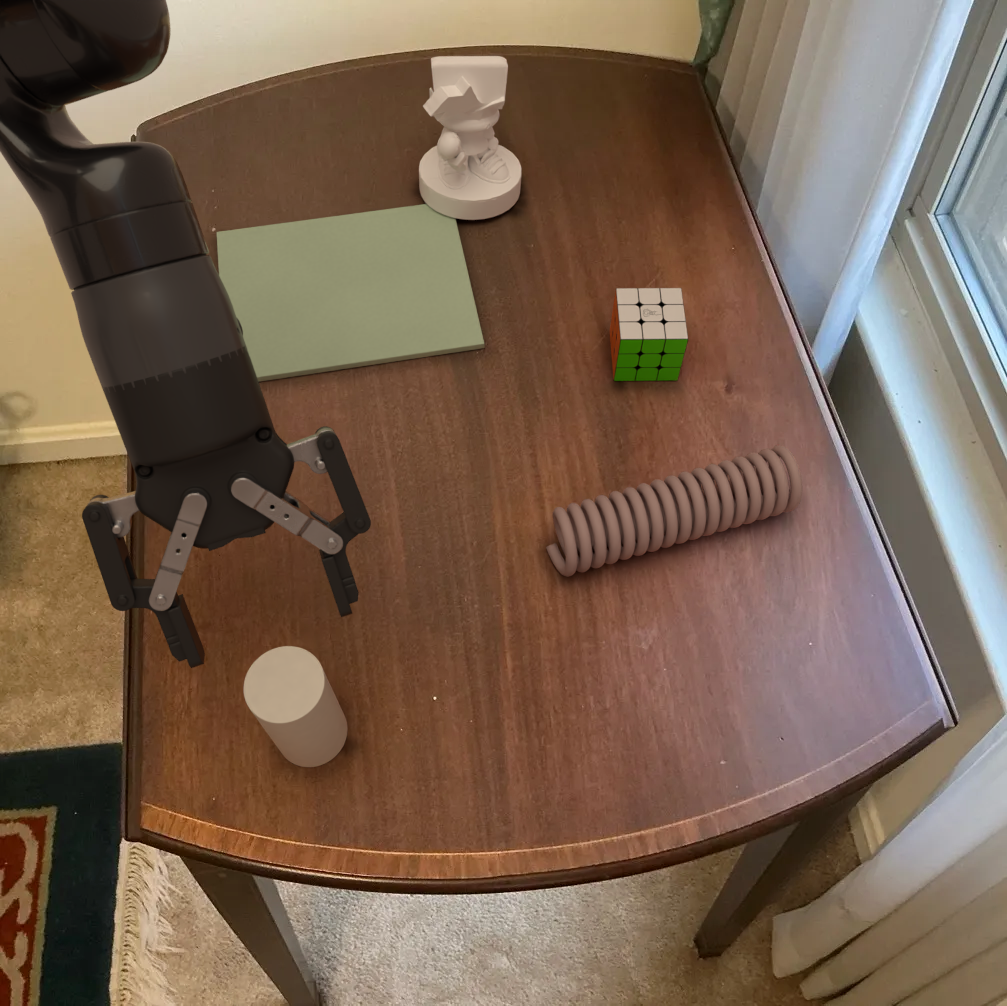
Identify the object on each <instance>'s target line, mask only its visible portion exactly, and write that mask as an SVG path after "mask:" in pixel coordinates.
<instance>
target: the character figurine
mask: <svg viewBox="0 0 1007 1006" xmlns="http://www.w3.org/2000/svg"><path fill="white" fill-rule="evenodd" d="M430 65H431V75H432V87H433V88H432V87H430V88H429V98H428V99H427V100H426V102H425V103H423V105H422V107H423V109H424V110H425V111H426V113H427V114H428V115H429V116H430V117H433V118H434V119H435V120H436V121H437V122H439V123H440V124H441V125H442V126H443V128H442V130H441V133H440V136H439V138H438V140H437V144H436V145H435V146H433V147H431V148H430V149H429V150H428V151H427V152H425V153H424V155H423V156H422V158H421V159H420V161H419V166H418V179H419V180H418V185H419V186H418V187H419V188H418V189H419V193H420V194H419V195H420V197H421V198H422V200H423V201H424V203H425V204H428V205H429V206H430V207H431V208H432V209H434V210H435V211H437V212H439V213H441V214H443V215H446V216H449V217H453V218H456V219H459V220H466V221H467V220H468V221H475V220H476V221H477V220H485V219H491V218H494V217H497V216H500V215H503V214H504V213H506V212H507V211H510V209H511V208H512V207H513V206H515V204H516V203H517V201H518V200H519V199H520V194H521V187H522V186H521V184H522V165H521V162H520V160H519V159H518V158H517V156H516V155H515V154H514V153H513V152H512V151H510V150H509V149H507V148H506V147H505V146H502V144H501V145H500V144H499V139H498V138H497V137H495V135H496V133H495V130H494V128H493V127H494V126H495V125H496V124H497V123H498V122H499V119H500V111H499V110H503V107H504V106H505V102H506V92H507V91H506V90H507V82H508V72H509V71H508V70H509V64H508V61H507V58H505V57H504V56H502V55H453V56H452V55H451V56H450V55H447V56H444V55H443V56H442V55H441V56H433V57H431V58H430Z"/></svg>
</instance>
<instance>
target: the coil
mask: <svg viewBox="0 0 1007 1006" xmlns="http://www.w3.org/2000/svg"><path fill="white" fill-rule="evenodd" d="M783 463H784V465H783ZM754 467H755V468H754ZM785 467H786V468H785ZM786 470H787V472H786ZM787 473H788V475H787ZM788 478H789V479H788ZM729 481H730V482H729ZM715 483H716V484H715ZM789 484H790V485H789ZM716 486H717V487H716ZM789 487H790V488H789ZM717 490H718V491H717ZM718 493H719V495H720V498H719V495H718ZM733 494H734V496H733ZM704 495H705V496H704ZM802 495H803V479H802V472H801V470H800V466H799V463H798V461H797V459H796V457H795V456H794V454H793V452H792V451H791V449H789V448H788V447H787V446H785V445H782V444H777V445H774V446H773V447H771V449H770V448H763V449H760V450H759V451H758V452H754V451H753V452H749V453H747V454H746V455H745V456H741V455H739V456H735V457H733V458H732V459H731V460H728V459H724V460H721V461H720V462H719V463H718V464H715V463H709V464H707V465H706V466H705V467H704V468H702V467H695V468H693V469H692V470H691V472H689V471H681V472H680V473H678V475H677V476H675V475H673V474H670V475H667V476H666V477H665V478H664V479H663V480H662V479H659V478H657V479H656V478H655V479H653V480H652V481H651V482H650V484H648V483H646V482H642V483H639V484H638V485H637V487H636V488H634V487H632V486H628V487H625V488H624V489H623V490H622V492H621V491H618V490H613V491H611V492H610V493H609V496H607V495H604V494H599V495H597V496H596V497H595V499H594V500H592V499H591V498H584V499H583V500H582V501H581V503H580V505H579V504H578V503H576V502H570V503H569V504H568V505H567V507H566V509H565V508H564V507H562V506H556V507H555V508H554V509H553V511H552V520H553V526H554V530H555V533H556V537H557V539H558V543H559V544H560V545H559V546H560V548H561V551H562V552H563V554H564V556H565V559H564V557H563V555H562V553H561V551H560V549H559V547H558V544H557V542H554V543H552V544H550V545H547V546H545V548H546V549H545V550H546V551H547V554H548V556H549V558H550V560H551V562H552V564H553V565H554V567H555V568H556V570H557V571H558V572H559V574H561V576H564V577H572V576H573V575H574V574H575V573H576V571H577V572H578V573H585V572H587V571H588V570H589V569H590V568H593V569H598V568H602V566H604V564H607V565H613V564H615V563H616V562H617V561H618V560H622V561H626V560H629V559H630V558H632V556H636V557H639V556H643V555H644V554H645V553H646V552H651V553H652V552H656V551H658V550H659V549H660V548H663V549H667V548H670V547H672V546H673V545H674V544H678V545H679V544H684V543H686V542H687V541H688V540H691V541H692V540H693V541H694V540H697V539H699V538H701V537H702V536H704V537H706V536H712V535H714V533H715V532H718V533H722V532H725V531H727V530H728V529H729V528H731V529H733V528H739V527H740V526H742V525H743V524H744V525H748V524H753V523H754V522H756V520H757V521H762V520H766V519H768V518H769V517H776V516H779V515H781V514H782V513H790V512H793V511H795V510H796V509H797V508H798V506H799V505H800V503H801V499H802ZM607 547H608V548H607ZM593 551H594V552H593ZM578 553H579V555H578Z"/></svg>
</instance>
